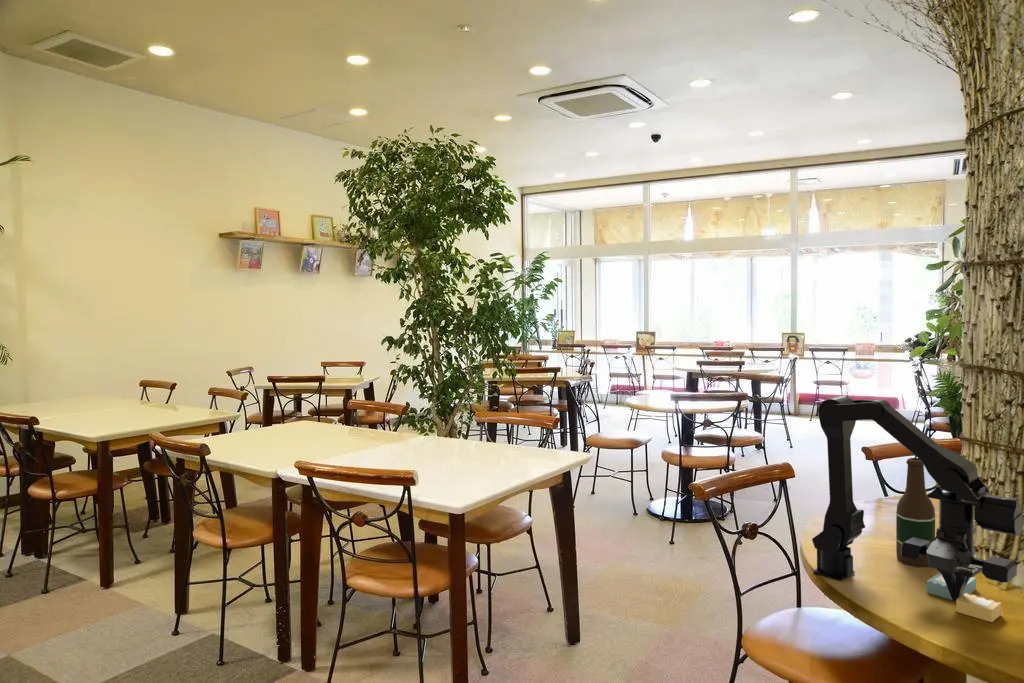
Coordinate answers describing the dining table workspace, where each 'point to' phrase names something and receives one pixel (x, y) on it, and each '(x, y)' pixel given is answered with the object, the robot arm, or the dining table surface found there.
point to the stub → (978, 607)
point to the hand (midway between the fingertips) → (955, 600)
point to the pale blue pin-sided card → (940, 588)
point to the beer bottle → (914, 513)
